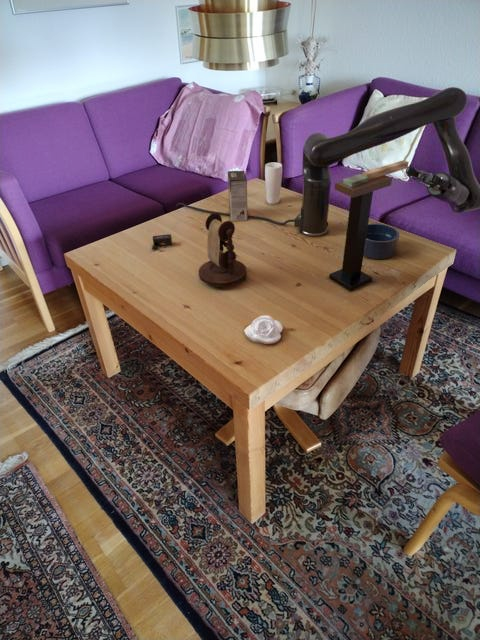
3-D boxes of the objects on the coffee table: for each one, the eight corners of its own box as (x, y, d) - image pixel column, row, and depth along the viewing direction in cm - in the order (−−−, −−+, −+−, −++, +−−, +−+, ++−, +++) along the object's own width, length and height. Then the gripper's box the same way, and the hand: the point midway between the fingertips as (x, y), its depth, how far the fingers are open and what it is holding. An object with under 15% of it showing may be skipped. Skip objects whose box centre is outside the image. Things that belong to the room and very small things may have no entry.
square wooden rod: (400, 165, 133) (401, 159, 131) (409, 168, 130) (410, 162, 129) (342, 183, 123) (343, 176, 122) (351, 187, 121) (352, 180, 120)
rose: (272, 305, 126) (290, 325, 119) (272, 318, 128) (290, 339, 121) (238, 315, 123) (255, 336, 115) (238, 329, 125) (255, 350, 118)
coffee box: (228, 211, 185) (227, 170, 175) (245, 210, 185) (244, 169, 176) (230, 221, 178) (229, 179, 168) (247, 220, 178) (247, 178, 168)
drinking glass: (280, 205, 188) (281, 168, 179) (263, 204, 189) (263, 167, 180) (282, 199, 193) (283, 162, 184) (266, 198, 195) (266, 161, 186)
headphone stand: (356, 266, 149) (370, 169, 131) (377, 279, 143) (395, 179, 125) (322, 280, 143) (332, 181, 125) (343, 294, 137) (356, 191, 118)
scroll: (190, 275, 148) (184, 215, 136) (229, 260, 154) (226, 202, 142) (216, 296, 138) (212, 234, 126) (256, 279, 145) (256, 219, 133)
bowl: (353, 257, 154) (355, 239, 150) (357, 239, 164) (359, 221, 160) (395, 262, 151) (399, 244, 147) (396, 243, 161) (399, 225, 157)
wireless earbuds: (151, 244, 164) (150, 236, 162) (171, 242, 165) (170, 234, 163) (152, 251, 161) (150, 242, 159) (172, 248, 162) (171, 240, 160)
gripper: (432, 170, 151) (406, 154, 141) (471, 182, 142) (446, 167, 131) (420, 192, 154) (394, 179, 143) (458, 206, 144) (433, 193, 133)
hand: (419, 173), depth 137 cm, fingers open, 8 cm apart
